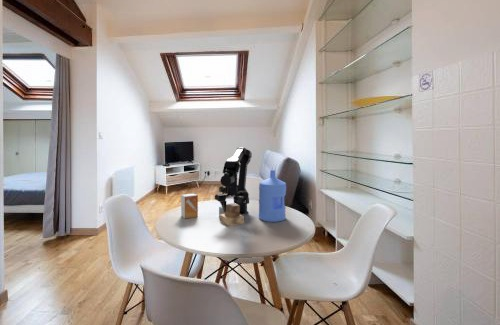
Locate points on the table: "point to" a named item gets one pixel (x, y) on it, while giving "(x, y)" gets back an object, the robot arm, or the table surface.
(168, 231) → the table surface
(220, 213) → the slate cube
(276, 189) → the water jug
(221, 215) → the oak slab
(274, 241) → the table surface
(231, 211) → the walnut cube
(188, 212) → the small box
